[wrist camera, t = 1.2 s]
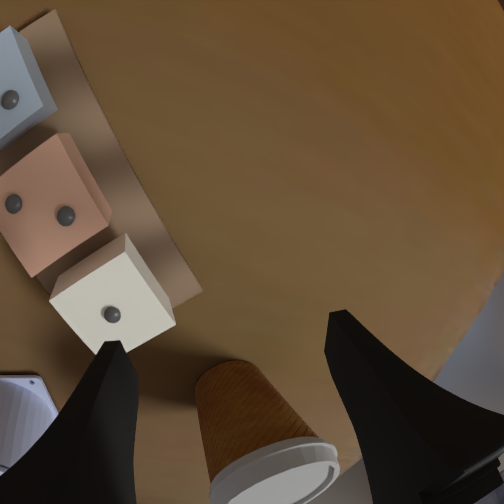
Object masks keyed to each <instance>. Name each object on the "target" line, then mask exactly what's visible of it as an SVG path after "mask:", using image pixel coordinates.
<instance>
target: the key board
mask: <svg viewBox="0 0 504 504" xmlns="http://www.w3.org/2000/svg"><path fill="white" fill-rule="evenodd" d="M19 33H20V34H21V35H22V36H23V37H25V38H26V39H27V40H28V43H29V45H30V48H31V50H32V52H33V55H34V57H35V60H36V62H37V64H38V67H39V69H40V71H41V74H42V76H43V78H44V81H45V83H46V85H47V87H48V89H49V92H50V94H51V96H52V98H53V100H54V102H55V104H56V107H57V109H58V110H57V111H55V112H54V113H52V114H51V115H50V116H48V117H47V118H45V119H44V120H42V121H41V122H40V123H38V124H37V125H35V126H34V127H33V128H31V129H30V130H29V131H27V132H26V133H25V134H23V135H22V136H21V137H20V138H18V139H17V140H16V141H15V142H13V143H12V144H11V145H10V146H8V147H7V148H6V149H5V150H4V151H2V152H1V153H0V176H2V175H3V174H4V173H5V172H6V171H8V170H9V169H10V168H11V167H12V166H14V165H15V164H16V163H17V162H19V161H20V160H21V159H23V158H24V157H25V156H26V155H28V154H29V153H30V152H32V151H33V150H34V149H36V148H37V147H38V146H40V145H41V144H42V143H44V142H45V141H47V140H48V139H49V138H51V137H52V136H54V135H55V134H57V133H70V135H71V137H72V139H73V141H74V143H75V145H76V147H77V149H78V150H79V152H80V154H81V156H82V158H83V160H84V162H85V163H86V165H87V167H88V169H89V171H90V173H91V174H92V176H93V178H94V180H95V181H96V183H97V185H98V187H99V188H100V190H101V192H102V194H103V195H104V197H105V199H106V201H107V202H108V204H109V206H110V207H111V209H112V213H111V217H110V221H109V226H107V227H105V228H104V229H102V230H101V231H99V232H98V233H96V234H95V235H93V236H91V237H90V238H88V239H87V240H85V241H84V242H82V243H81V244H79V245H78V246H76V247H75V248H73V249H72V250H70V251H69V252H68V253H66V254H65V255H63V256H62V257H60V258H59V259H57V260H56V261H55V262H53V263H52V264H50V265H49V266H47V267H46V268H45V269H43V270H42V271H41V272H39V273H38V274H36V275H35V276H36V278H37V279H38V280H39V282H40V283H41V284H42V286H43V287H44V288H45V290H46V291H47V292H48V294H49V295H50V296H51V294H52V291H53V289H54V286H55V284H56V281H57V279H58V277H59V275H61V274H62V273H64V272H65V271H67V270H68V269H70V268H71V267H73V266H74V265H76V264H77V263H79V262H80V261H82V260H83V259H85V258H86V257H88V256H89V255H91V254H92V253H94V252H95V251H97V250H99V249H100V248H102V247H103V246H105V245H106V244H108V243H110V242H111V241H113V240H114V239H116V238H117V237H119V236H121V235H122V234H124V233H126V234H127V235H128V237H129V239H130V240H131V242H132V243H133V245H134V246H135V248H136V250H137V251H138V253H139V254H140V256H141V257H142V259H143V260H144V262H145V263H146V265H147V266H148V268H149V270H150V271H151V273H152V274H153V275H154V277H155V278H156V280H157V281H158V283H159V284H160V286H161V287H162V289H163V290H164V292H165V293H166V295H167V296H168V297H169V300H170V304H171V308H172V309H173V308H174V307H176V306H178V305H180V304H181V303H183V302H185V301H186V300H188V299H190V298H192V297H193V296H195V295H197V294H199V293H200V292H202V291H203V289H202V287H201V285H200V283H199V282H198V280H197V278H196V277H195V275H194V274H193V272H192V270H191V269H190V267H189V265H188V264H187V262H186V260H185V259H184V257H183V255H182V254H181V252H180V250H179V249H178V247H177V245H176V244H175V242H174V240H173V239H172V237H171V235H170V234H169V232H168V230H167V228H166V227H165V225H164V223H163V222H162V220H161V218H160V216H159V215H158V213H157V211H156V209H155V208H154V206H153V204H152V202H151V201H150V199H149V197H148V195H147V193H146V192H145V190H144V188H143V186H142V184H141V183H140V181H139V179H138V177H137V175H136V173H135V172H134V170H133V168H132V166H131V164H130V162H129V160H128V159H127V157H126V155H125V153H124V151H123V149H122V147H121V145H120V143H119V142H118V140H117V138H116V136H115V134H114V132H113V130H112V128H111V126H110V124H109V122H108V120H107V118H106V116H105V114H104V112H103V110H102V108H101V106H100V104H99V102H98V100H97V98H96V96H95V94H94V92H93V90H92V88H91V86H90V84H89V82H88V79H87V77H86V75H85V73H84V71H83V69H82V67H81V64H80V62H79V60H78V58H77V56H76V54H75V51H74V49H73V47H72V45H71V42H70V40H69V38H68V36H67V33H66V31H65V29H64V26H63V24H62V22H61V19H60V17H59V14H58V13H57V11H56V10H55V9H54V10H53V11H51V12H49V13H48V14H46V15H44V16H43V17H41V18H40V19H38V20H36V21H35V22H33V23H32V24H30V25H29V26H27V27H26V28H24V29H23V30H21V31H20V32H19Z"/></svg>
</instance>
